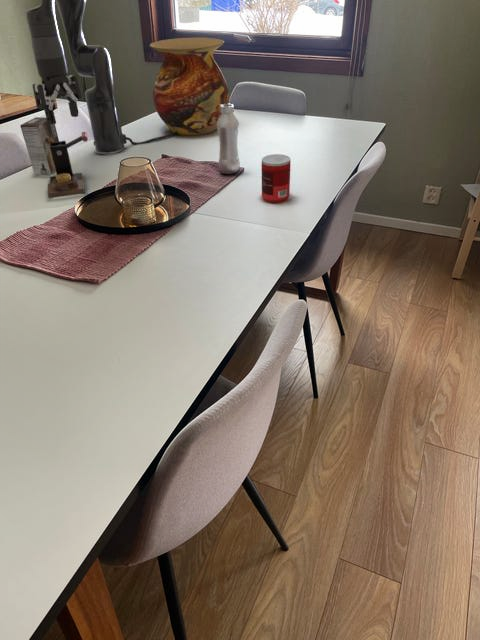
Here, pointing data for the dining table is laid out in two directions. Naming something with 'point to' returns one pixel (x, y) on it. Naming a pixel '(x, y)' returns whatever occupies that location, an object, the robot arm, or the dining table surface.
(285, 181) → the canned food
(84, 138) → the lever
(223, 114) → the plastic bottle
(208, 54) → the vase
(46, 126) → the coffee box
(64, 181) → the button
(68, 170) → the lever bracket
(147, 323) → the dining table surface
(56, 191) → the switch plate
